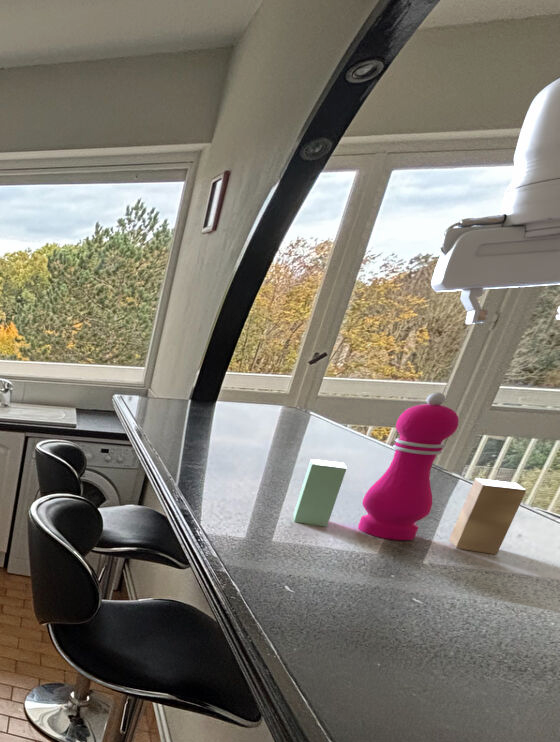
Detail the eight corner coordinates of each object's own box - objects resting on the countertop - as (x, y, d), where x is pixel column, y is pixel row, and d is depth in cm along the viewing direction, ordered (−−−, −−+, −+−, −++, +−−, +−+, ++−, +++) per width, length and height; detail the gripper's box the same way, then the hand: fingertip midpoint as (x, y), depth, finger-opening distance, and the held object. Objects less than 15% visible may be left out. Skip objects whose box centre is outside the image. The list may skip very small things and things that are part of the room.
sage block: (324, 519, 91) (344, 462, 87) (326, 527, 88) (346, 468, 84) (293, 514, 93) (310, 458, 89) (293, 521, 90) (312, 464, 86)
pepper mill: (394, 544, 81) (451, 397, 74) (341, 526, 88) (388, 389, 80) (431, 539, 83) (491, 395, 76) (376, 522, 90) (426, 388, 82)
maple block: (488, 545, 81) (516, 482, 78) (496, 554, 78) (526, 490, 75) (448, 539, 83) (474, 478, 80) (455, 548, 80) (483, 484, 77)
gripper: (459, 214, 79) (435, 324, 82) (680, 193, 71) (642, 314, 75) (433, 225, 84) (412, 327, 88) (635, 206, 77) (603, 318, 80)
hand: (520, 321), depth 81 cm, fingers open, 8 cm apart
